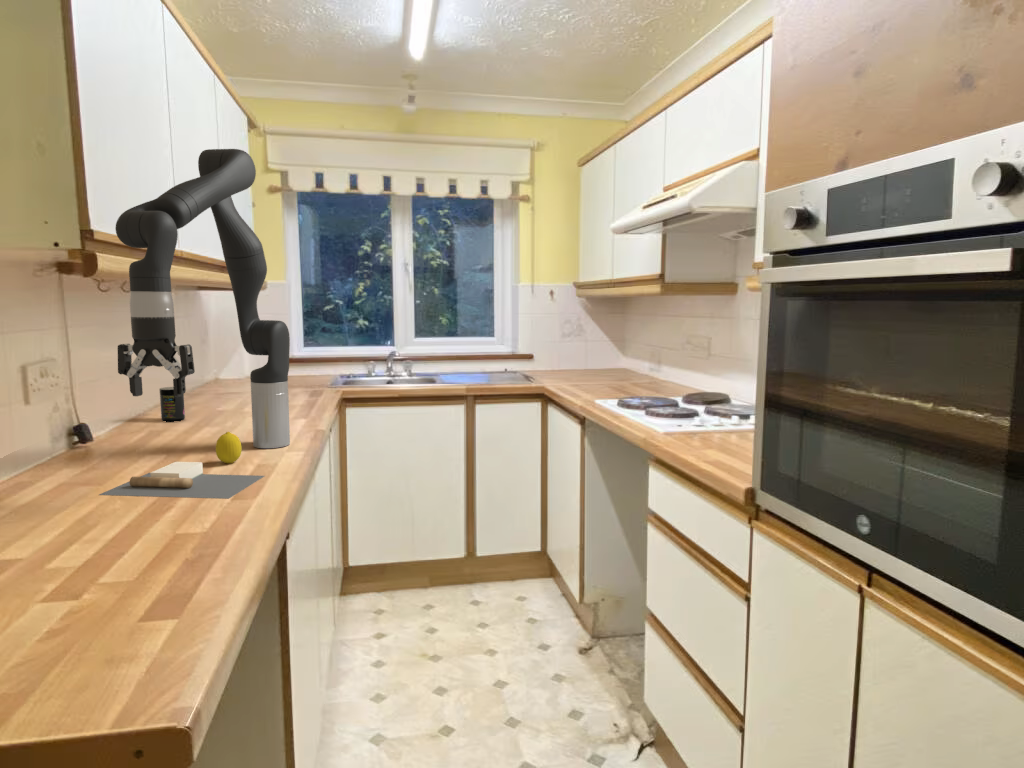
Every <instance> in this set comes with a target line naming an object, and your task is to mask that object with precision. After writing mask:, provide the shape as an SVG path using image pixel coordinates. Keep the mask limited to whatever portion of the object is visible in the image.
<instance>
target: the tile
mask: <svg viewBox="0 0 1024 768" xmlns="http://www.w3.org/2000/svg"><path fill="white" fill-rule="evenodd" d="M203 466H204V465H203V462H201V461H174V462H172V463H170V464H167V465H165V466H163V467H160V468H158V469H156V470H153V471H151V472H150V473H151V477H168V478H192V479H193V478H195V477H197V476H199V475H201V474H204V470H203V469H204V467H203Z"/></svg>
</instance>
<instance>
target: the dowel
mask: <svg viewBox="0 0 1024 768" xmlns="http://www.w3.org/2000/svg"><path fill="white" fill-rule="evenodd" d="M129 481H130V486H132V487H168V488H191V487H192V485H193V480H192V478H168V477H140V476H131V477H130V478H129Z"/></svg>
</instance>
